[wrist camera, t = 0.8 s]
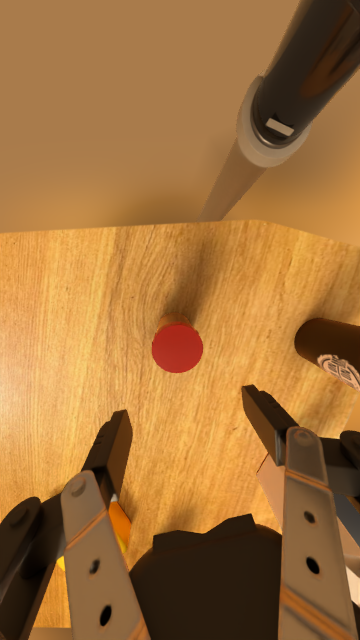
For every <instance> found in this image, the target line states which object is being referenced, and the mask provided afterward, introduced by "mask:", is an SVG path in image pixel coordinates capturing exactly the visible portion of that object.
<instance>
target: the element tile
mask: <svg viewBox="0 0 360 640" xmlns="http://www.w3.org/2000/svg"><path fill="white" fill-rule="evenodd" d="M108 513H109V516H110V518H111V521H112V524H113V527H114V530H115V533H116V535H117V538H118V541H119V544H120V547H121V550H122V553H123V554H124V553H125V552H126V551H127V549H128V542H129V536H130V529H131V522H130V520H129V519H128V517H127V516H126V514H125V513H124V512H123V510H122V509H121V507H120V506H119V504H118V503H117V501H115V502H111V504H110V507H109V511H108ZM56 563H57V564H58V566H59V567H60V568H61V569H62V570H63V571H64V572H65V565H64V556H62V557H61V558H59V559H58V560H57V562H56Z"/></svg>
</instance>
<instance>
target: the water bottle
mask: <svg viewBox="0 0 360 640" xmlns="http://www.w3.org/2000/svg"><path fill="white" fill-rule="evenodd" d="M294 344H295V349H296V351H297V353H298V354H299V355H300V356H302V357H303V358H305V359H307V360H308V361H310V362H312V363H313V364H315V365H317V366H318V367H320V368H322V369H323V370H324V371H326V372H328V373H329V374H331V375H333V376H334V377H336V378H337V379H339V380H341V381H342V382H344V383H346V384H347V385H349V386H351V387H352V388H354V389H356V390H357V391H359V392H360V326H356V325H351V324H347V323H342V322H337V321H332V320H327V319H322V318H316V319H312V320H310V321H308V322H306V323H305V324H303V325H302V326H301V327H300V329H299V330H298V332H297V334H296V336H295V341H294Z"/></svg>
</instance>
